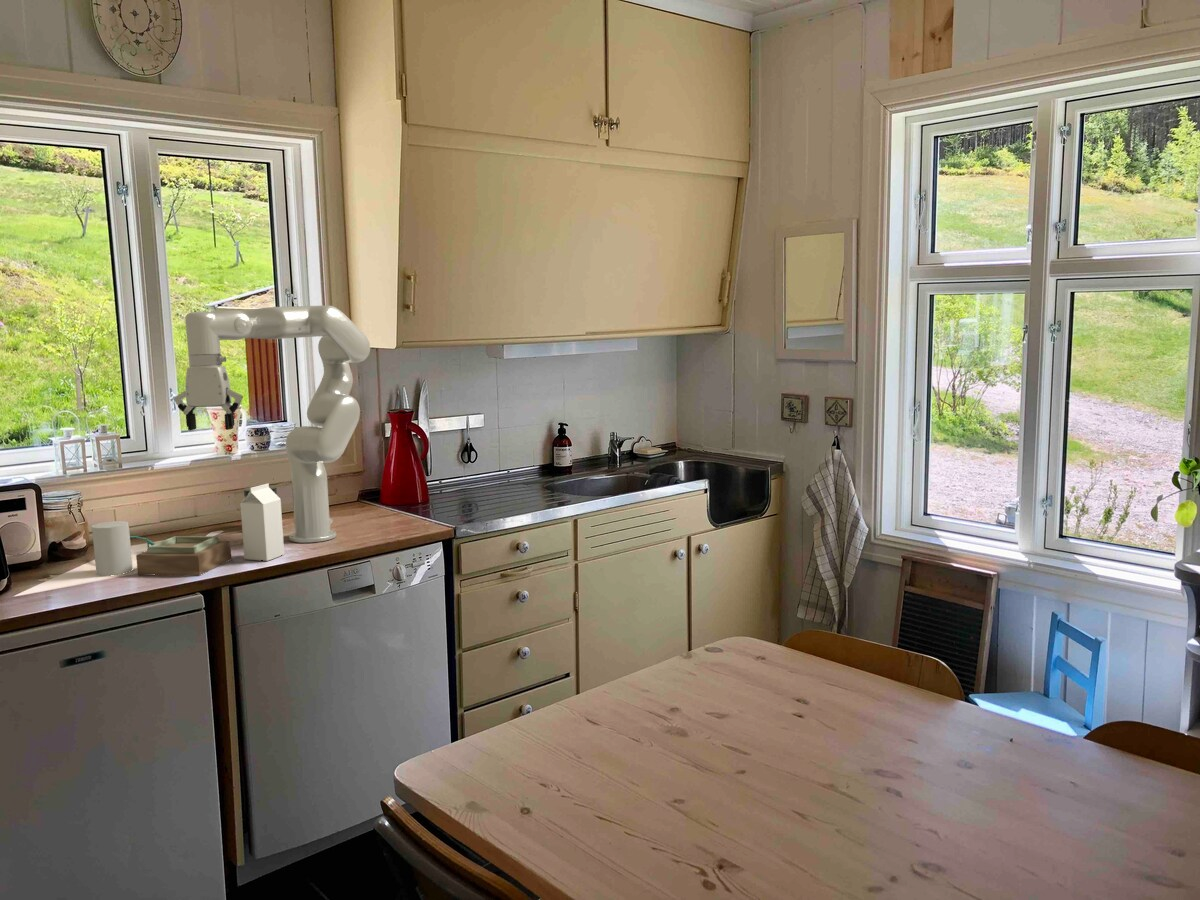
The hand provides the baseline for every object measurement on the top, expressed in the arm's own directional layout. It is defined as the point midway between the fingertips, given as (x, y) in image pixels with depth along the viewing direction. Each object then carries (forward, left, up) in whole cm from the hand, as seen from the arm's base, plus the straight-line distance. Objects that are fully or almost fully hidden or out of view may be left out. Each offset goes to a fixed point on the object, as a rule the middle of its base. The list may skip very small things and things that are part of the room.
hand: (211, 429), depth 247 cm
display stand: (+6, -6, -34) cm, 35 cm away
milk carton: (-4, +10, -34) cm, 36 cm away
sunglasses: (-1, -26, -35) cm, 43 cm away
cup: (+11, -22, -34) cm, 42 cm away
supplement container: (-39, -7, -34) cm, 52 cm away
